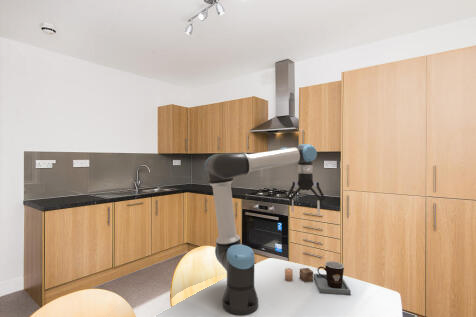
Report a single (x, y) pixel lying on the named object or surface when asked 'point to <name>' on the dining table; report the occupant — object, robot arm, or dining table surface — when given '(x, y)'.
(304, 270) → the walnut block
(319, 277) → the tray
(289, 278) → the terracotta cylinder
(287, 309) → the dining table surface
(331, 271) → the coffee mug
